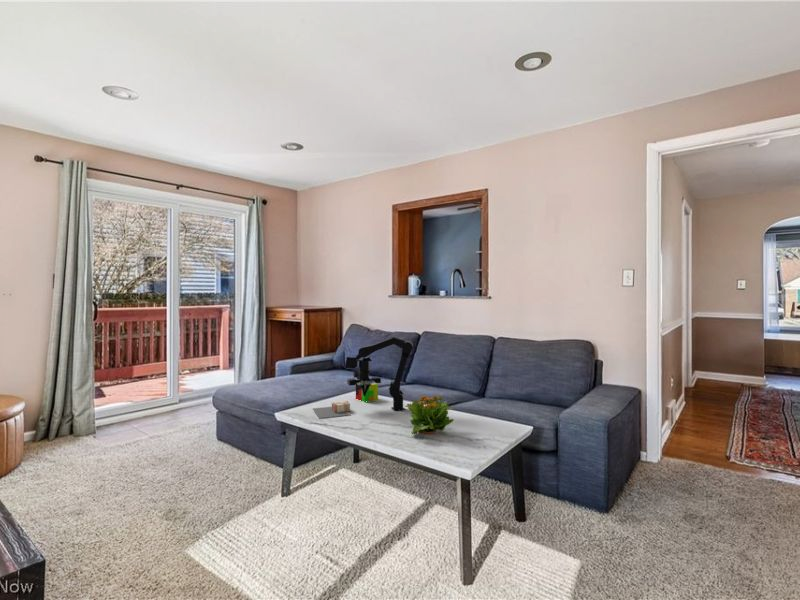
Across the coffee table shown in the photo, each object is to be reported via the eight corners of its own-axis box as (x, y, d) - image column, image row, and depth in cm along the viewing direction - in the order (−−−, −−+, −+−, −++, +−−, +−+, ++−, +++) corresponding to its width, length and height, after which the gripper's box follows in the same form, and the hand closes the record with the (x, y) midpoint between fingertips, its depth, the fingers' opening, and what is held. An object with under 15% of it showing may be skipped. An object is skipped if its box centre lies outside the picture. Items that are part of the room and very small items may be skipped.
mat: (350, 415, 227) (350, 414, 227) (319, 418, 221) (319, 417, 221) (341, 406, 246) (341, 405, 246) (312, 409, 239) (312, 408, 239)
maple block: (350, 403, 234) (334, 405, 231) (350, 410, 234) (334, 412, 231) (347, 400, 240) (331, 402, 236) (347, 407, 240) (331, 409, 236)
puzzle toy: (368, 396, 269) (368, 381, 269) (378, 399, 261) (378, 383, 261) (355, 399, 263) (355, 383, 262) (364, 402, 255) (364, 386, 255)
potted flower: (394, 426, 208) (394, 391, 207) (436, 420, 217) (436, 387, 217) (417, 442, 185) (417, 403, 185) (462, 435, 195) (462, 397, 194)
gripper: (375, 365, 251) (375, 391, 251) (344, 367, 244) (344, 394, 244) (381, 368, 241) (381, 395, 241) (349, 370, 234) (349, 398, 234)
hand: (364, 395), depth 240 cm, fingers closed
